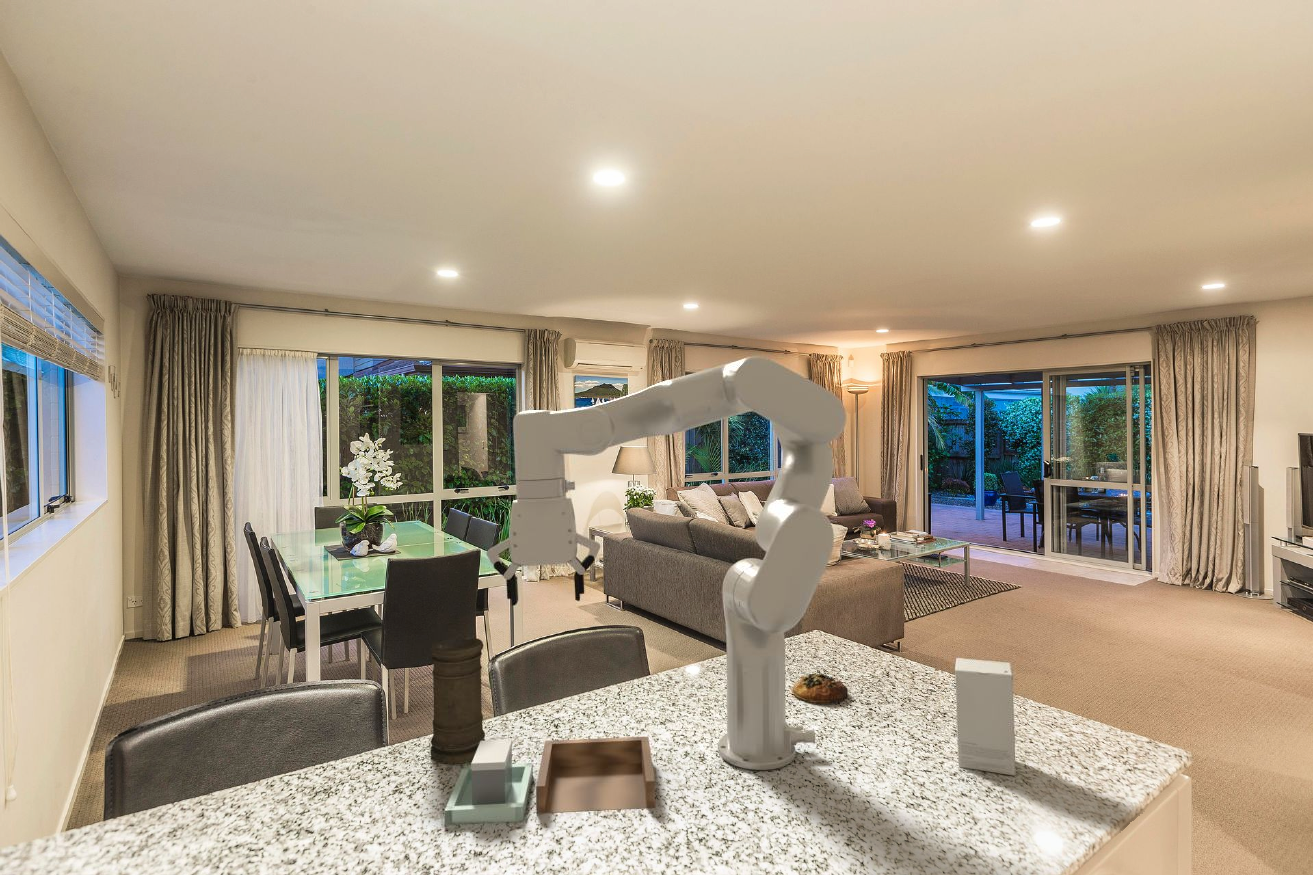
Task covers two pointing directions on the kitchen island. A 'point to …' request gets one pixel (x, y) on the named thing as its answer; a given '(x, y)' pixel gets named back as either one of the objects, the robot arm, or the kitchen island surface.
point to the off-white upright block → (492, 772)
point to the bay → (595, 775)
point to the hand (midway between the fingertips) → (546, 601)
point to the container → (457, 700)
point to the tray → (466, 813)
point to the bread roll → (820, 689)
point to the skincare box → (985, 716)
